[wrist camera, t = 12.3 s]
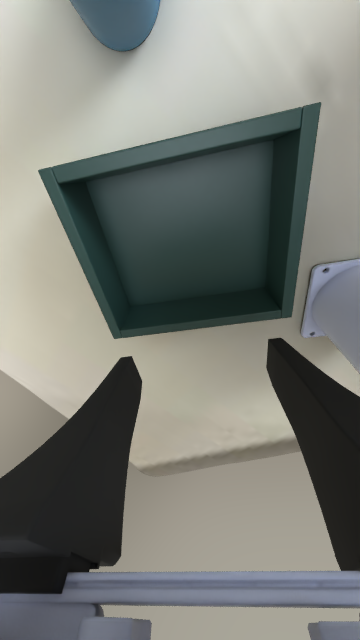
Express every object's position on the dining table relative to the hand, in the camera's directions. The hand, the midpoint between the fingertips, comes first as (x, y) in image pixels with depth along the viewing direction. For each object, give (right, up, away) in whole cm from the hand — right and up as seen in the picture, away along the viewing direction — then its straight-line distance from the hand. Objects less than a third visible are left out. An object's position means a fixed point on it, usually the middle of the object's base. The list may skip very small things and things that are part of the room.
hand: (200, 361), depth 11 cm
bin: (-1, +9, +6) cm, 11 cm away
